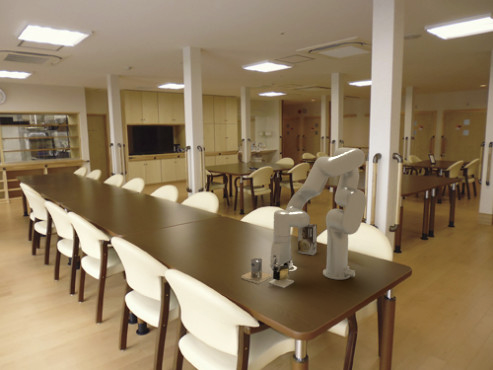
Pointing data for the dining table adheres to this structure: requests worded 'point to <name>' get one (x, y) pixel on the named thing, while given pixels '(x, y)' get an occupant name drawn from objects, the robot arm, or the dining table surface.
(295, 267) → the teacup and saucer
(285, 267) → the cap
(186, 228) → the dining table surface
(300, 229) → the coffee box
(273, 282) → the mat
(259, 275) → the post
